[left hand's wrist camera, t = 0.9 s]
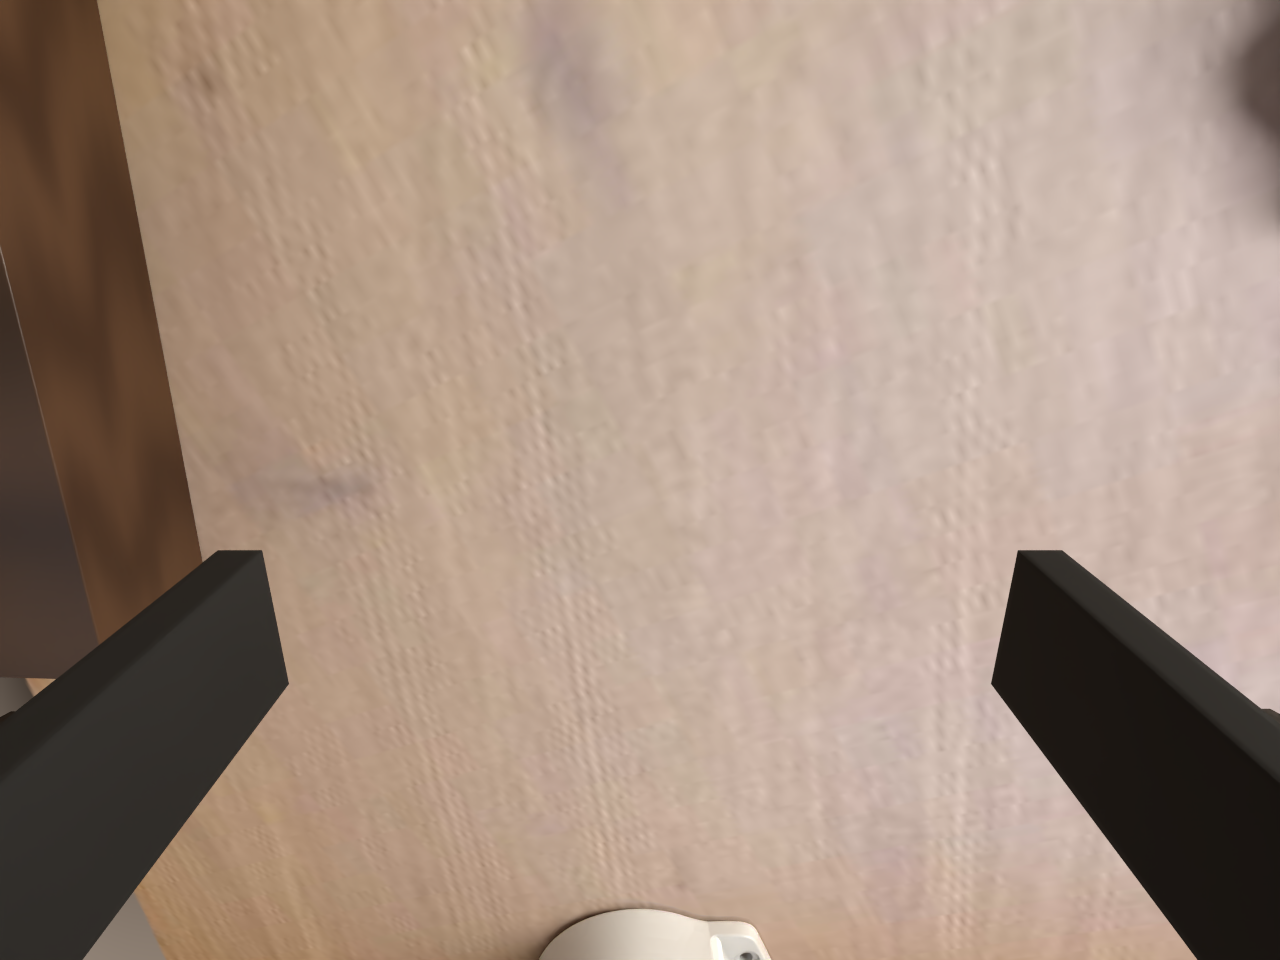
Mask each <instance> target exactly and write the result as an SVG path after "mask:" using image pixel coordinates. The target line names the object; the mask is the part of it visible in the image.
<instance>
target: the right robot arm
mask: <svg viewBox="0 0 1280 960" xmlns="http://www.w3.org/2000/svg"><path fill="white" fill-rule="evenodd" d="M539 960H771V958H770V956H769V954H768V952H767V950H766V948H765V946H764V944H763V942H762V940H761V938H760V936H759V934H758V932H757V930H756V929H755V928H754V927H753V926H752V925H750V924H748V923H745V922H739V921H702V920H698V919H694V918H690V917H687V916H684V915H680V914H677V913H672V912H668V911H662V910H654V909H626V910H617V911H611V912H607V913H603V914H599V915H596V916H593V917H590V918H587V919H585V920H582V921H580V922H578V923H576V924H574V925H573V926H571V927H569V928H568V929H566V930H565V931H563V932H562V933H560V934H559V935H558V936H557V937H556V938H555V939H554V940H553V941H552V942H551V943H550V944H549V945H548V946H547V947H546V949H545V950H544V951H543V953H542V955H541V956H540V958H539Z"/></svg>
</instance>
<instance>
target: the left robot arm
mask: <svg viewBox="0 0 1280 960" xmlns="http://www.w3.org/2000/svg"><path fill="white" fill-rule="evenodd" d="M288 684H289V682H288V677H287V672H286V667H285V662H284V657H283V652H282V647H281V642H280V637H279V632H278V627H277V622H276V617H275V612H274V607H273V603H272V598H271V593H270V588H269V583H268V578H267V573H266V568H265V563H264V558H263V553H262V550H218V551H217V552H215V553H214V554H213V555H212V556H210V557H209V558H208V559H207V560H205V561H204V562H203V563H202V564H200V565H199V566H198V567H196V568H195V569H194V570H193V571H191V572H190V573H189V574H188V575H186V576H185V577H184V578H183V579H181V580H180V581H179V582H178V583H176V584H175V585H174V586H173V587H171V588H170V589H169V590H168V591H166V592H165V593H164V594H163V595H161V596H160V597H159V598H158V599H156V600H155V601H154V602H153V603H151V604H150V605H149V606H147V607H146V608H145V609H144V610H142V611H141V612H140V613H139V614H137V615H136V616H135V617H134V618H132V619H131V620H130V621H129V622H127V623H126V624H125V625H124V626H122V627H121V628H120V629H119V630H117V631H116V632H115V633H114V634H112V635H111V636H110V637H109V638H107V639H106V640H105V641H104V642H102V643H101V644H100V645H99V646H97V647H96V648H95V649H93V650H92V651H91V652H90V653H88V654H87V655H86V656H85V657H83V658H82V659H81V660H80V661H78V662H77V663H76V664H75V665H73V666H72V667H71V668H70V669H68V670H67V671H66V672H65V673H63V674H62V675H61V676H60V677H58V678H57V679H56V680H55V681H53V682H52V683H51V684H50V685H48V686H47V687H46V688H44V689H43V690H42V691H41V692H39V693H38V694H37V695H36V696H34V697H33V698H32V699H31V700H29V701H28V702H27V703H26V704H24V705H23V706H22V707H21V708H19V709H18V710H17V711H15V712H14V711H13V712H12V711H11V712H9V713H7V714H5V715H3V716H2V717H0V960H83V958H84V957H85V956H86V954H87V953H88V952H89V950H90V949H91V948H92V946H93V945H94V944H95V942H96V941H97V940H98V938H99V937H100V936H101V934H102V933H103V932H104V930H105V929H106V928H107V926H108V925H109V924H110V922H111V921H112V920H113V918H114V917H115V915H116V914H117V913H118V912H119V910H120V909H121V907H122V906H123V905H124V904H125V902H126V901H127V900H128V898H129V897H130V895H131V894H132V893H133V891H134V890H135V889H136V887H137V886H138V885H139V883H140V882H141V881H142V879H143V878H144V877H145V875H146V874H147V873H148V871H149V870H150V869H151V867H152V866H153V865H154V863H155V862H156V861H157V859H158V858H159V857H160V855H161V854H162V853H163V851H164V850H165V849H166V847H167V846H168V845H169V843H170V842H171V841H172V839H173V838H174V837H175V835H176V834H177V833H178V831H179V830H180V829H181V827H182V826H183V825H184V823H185V822H186V821H187V819H188V818H189V817H190V815H191V814H192V813H193V811H194V810H195V809H196V807H197V806H198V805H199V803H200V802H201V801H202V799H203V798H204V797H205V795H206V794H207V793H208V791H209V790H210V789H211V787H212V786H213V785H214V783H215V782H216V781H217V779H218V778H219V777H220V775H221V774H222V773H223V771H224V770H225V769H226V767H227V766H228V765H229V763H230V762H231V760H232V759H233V758H234V756H235V755H236V754H237V752H238V751H239V750H240V748H241V747H242V746H243V744H244V743H245V742H246V740H247V739H248V738H249V736H250V735H251V734H252V732H253V731H254V730H255V728H256V727H257V726H258V724H259V723H260V722H261V720H262V719H263V718H264V716H265V715H266V714H267V712H268V711H269V710H270V708H271V707H272V706H273V704H274V703H275V702H276V700H277V699H278V698H279V696H280V695H281V694H282V692H283V691H284V690H285V688H286V687H287V686H288ZM991 684H992V686H993V687H994V688H995V690H996V691H997V692H998V694H999V695H1000V696H1001V698H1002V699H1003V700H1004V702H1005V703H1006V704H1007V706H1008V707H1009V708H1010V710H1011V711H1012V712H1013V714H1014V715H1015V716H1016V718H1017V719H1018V720H1019V722H1020V723H1021V724H1022V726H1023V727H1024V728H1025V730H1026V731H1027V732H1028V734H1029V735H1030V736H1031V738H1032V739H1033V740H1034V742H1035V743H1036V744H1037V746H1038V747H1039V748H1040V750H1041V751H1042V752H1043V754H1044V755H1045V756H1046V758H1047V759H1048V760H1049V762H1050V763H1051V765H1052V766H1053V767H1054V769H1055V770H1056V771H1057V773H1058V774H1059V775H1060V777H1061V778H1062V779H1063V781H1064V782H1065V783H1066V785H1067V786H1068V787H1069V789H1070V790H1071V791H1072V793H1073V794H1074V795H1075V797H1076V798H1077V799H1078V801H1079V802H1080V803H1081V805H1082V806H1083V807H1084V809H1085V810H1086V811H1087V813H1088V814H1089V815H1090V817H1091V818H1092V819H1093V821H1094V822H1095V823H1096V825H1097V826H1098V827H1099V829H1100V830H1101V831H1102V833H1103V834H1104V835H1105V837H1106V838H1107V839H1108V841H1109V842H1110V843H1111V845H1112V846H1113V847H1114V849H1115V850H1116V851H1117V853H1118V854H1119V855H1120V857H1121V858H1122V859H1123V861H1124V862H1125V863H1126V865H1127V866H1128V867H1129V869H1130V870H1131V871H1132V873H1133V874H1134V875H1135V877H1136V878H1137V879H1138V881H1139V882H1140V883H1141V885H1142V886H1143V887H1144V889H1145V890H1146V891H1147V893H1148V894H1149V895H1150V897H1151V898H1152V900H1153V901H1154V902H1155V904H1156V905H1157V906H1158V908H1159V909H1160V910H1161V912H1162V913H1163V914H1164V916H1165V917H1166V918H1167V920H1168V921H1169V922H1170V924H1171V925H1172V926H1173V928H1174V929H1175V930H1176V932H1177V933H1178V934H1179V936H1180V937H1181V938H1182V940H1183V941H1184V942H1185V944H1186V945H1187V946H1188V948H1189V949H1190V950H1191V952H1192V953H1193V954H1194V956H1195V957H1196V958H1197V960H1280V714H1279V713H1277V712H1275V711H1273V710H1271V709H1261V708H1259V707H1258V706H1257V705H1256V704H1254V703H1253V702H1252V701H1251V700H1249V699H1248V698H1247V697H1246V696H1244V695H1243V694H1242V693H1241V692H1239V691H1238V690H1237V689H1236V688H1234V687H1233V686H1232V685H1230V684H1229V683H1228V682H1227V681H1225V680H1224V679H1223V678H1222V677H1220V676H1219V675H1218V674H1217V673H1215V672H1214V671H1213V670H1212V669H1210V668H1209V667H1208V666H1207V665H1205V664H1204V663H1203V662H1202V661H1200V660H1199V659H1198V658H1197V657H1195V656H1194V655H1193V654H1192V653H1190V652H1189V651H1188V650H1187V649H1185V648H1184V647H1183V646H1181V645H1180V644H1179V643H1178V642H1176V641H1175V640H1174V639H1173V638H1171V637H1170V636H1169V635H1168V634H1166V633H1165V632H1164V631H1163V630H1161V629H1160V628H1159V627H1158V626H1156V625H1155V624H1154V623H1153V622H1151V621H1150V620H1149V619H1148V618H1146V617H1145V616H1144V615H1143V614H1141V613H1140V612H1139V611H1138V610H1136V609H1135V608H1134V607H1132V606H1131V605H1130V604H1129V603H1127V602H1126V601H1125V600H1124V599H1122V598H1121V597H1120V596H1119V595H1117V594H1116V593H1115V592H1114V591H1112V590H1111V589H1110V588H1109V587H1107V586H1106V585H1105V584H1104V583H1102V582H1101V581H1100V580H1099V579H1097V578H1096V577H1095V576H1094V575H1092V574H1091V573H1090V572H1089V571H1087V570H1086V569H1085V568H1084V567H1082V566H1081V565H1080V564H1078V563H1077V562H1076V561H1075V560H1073V559H1072V558H1071V557H1070V556H1068V555H1067V554H1066V553H1065V552H1063V551H1062V550H1018V553H1017V558H1016V563H1015V568H1014V573H1013V578H1012V583H1011V588H1010V593H1009V598H1008V602H1007V607H1006V612H1005V617H1004V622H1003V627H1002V632H1001V637H1000V642H999V647H998V652H997V657H996V662H995V667H994V672H993V677H992V682H991Z"/></svg>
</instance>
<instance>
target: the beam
mask: <svg viewBox="0 0 1280 960" xmlns="http://www.w3.org/2000/svg"><path fill="white" fill-rule="evenodd" d="M200 564H202V558H201V553H200V547H199V542H198V537H197V531H196V526H195V521H194V515H193V510H192V505H191V500H190V494H189V489H188V484H187V478H186V473H185V468H184V462H183V457H182V452H181V446H180V441H179V436H178V430H177V425H176V420H175V414H174V409H173V404H172V399H171V393H170V388H169V383H168V377H167V372H166V367H165V361H164V356H163V351H162V345H161V340H160V335H159V329H158V324H157V319H156V313H155V308H154V303H153V297H152V292H151V287H150V282H149V276H148V271H147V266H146V260H145V255H144V250H143V244H142V239H141V234H140V228H139V223H138V218H137V212H136V207H135V202H134V196H133V191H132V186H131V181H130V175H129V170H128V165H127V159H126V154H125V149H124V143H123V138H122V133H121V127H120V122H119V117H118V111H117V106H116V101H115V95H114V90H113V85H112V80H111V74H110V69H109V64H108V58H107V53H106V48H105V42H104V37H103V32H102V26H101V21H100V16H99V10H98V5H97V0H0V677H12V678H47V679H57V678H58V677H60V676H61V675H62V674H63V673H65V672H66V671H67V670H68V669H70V668H71V667H72V666H73V665H75V664H76V663H77V662H78V661H80V660H81V659H82V658H83V657H85V656H86V655H87V654H88V653H90V652H91V651H92V650H93V649H95V648H96V647H97V646H99V645H100V644H101V643H102V642H104V641H105V640H106V639H107V638H109V637H110V636H111V635H112V634H114V633H115V632H116V631H117V630H119V629H120V628H121V627H122V626H124V625H125V624H126V623H127V622H129V621H130V620H131V619H132V618H134V617H135V616H136V615H137V614H139V613H140V612H141V611H142V610H144V609H145V608H146V607H147V606H149V605H150V604H151V603H153V602H154V601H155V600H156V599H158V598H159V597H160V596H161V595H163V594H164V593H165V592H166V591H168V590H169V589H170V588H171V587H173V586H174V585H175V584H176V583H178V582H179V581H180V580H181V579H183V578H184V577H185V576H186V575H188V574H189V573H190V572H191V571H193V570H194V569H195V568H196V567H198V566H199V565H200Z"/></svg>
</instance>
